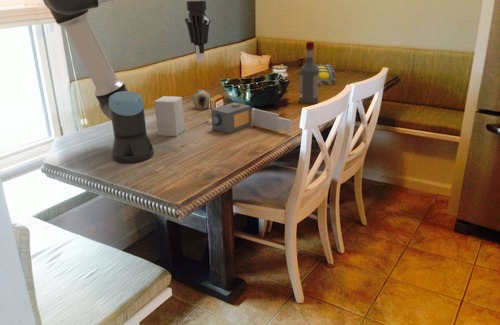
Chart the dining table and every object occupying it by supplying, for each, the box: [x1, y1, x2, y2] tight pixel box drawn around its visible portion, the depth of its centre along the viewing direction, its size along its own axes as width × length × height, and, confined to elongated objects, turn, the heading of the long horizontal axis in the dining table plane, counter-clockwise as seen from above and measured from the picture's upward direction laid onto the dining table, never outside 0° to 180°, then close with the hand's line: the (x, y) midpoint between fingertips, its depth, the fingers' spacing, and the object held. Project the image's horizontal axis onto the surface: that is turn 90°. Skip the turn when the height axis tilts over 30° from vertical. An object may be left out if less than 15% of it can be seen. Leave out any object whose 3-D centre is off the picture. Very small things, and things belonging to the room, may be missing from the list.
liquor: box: [298, 41, 319, 104], centre depth 226 cm, size 9×9×30 cm
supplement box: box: [153, 95, 186, 137], centre depth 189 cm, size 9×9×15 cm
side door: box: [251, 107, 292, 132], centre depth 190 cm, size 21×1×7 cm, turn 47°
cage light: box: [316, 63, 337, 86], centre depth 275 cm, size 15×8×30 cm
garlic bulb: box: [192, 89, 212, 111], centre depth 225 cm, size 9×8×10 cm
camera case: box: [210, 101, 252, 134], centre depth 194 cm, size 15×10×10 cm
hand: (200, 61), depth 183 cm, fingers closed
